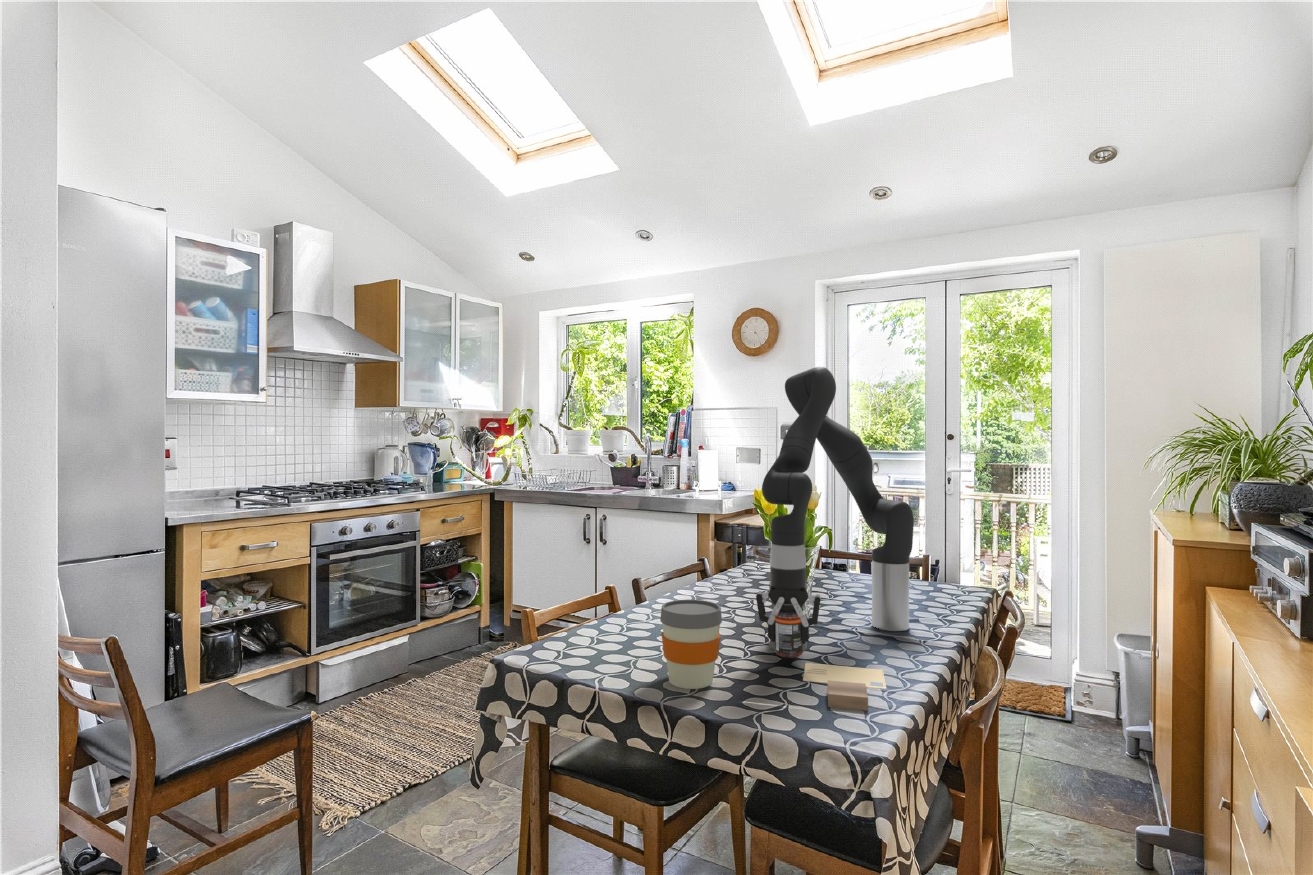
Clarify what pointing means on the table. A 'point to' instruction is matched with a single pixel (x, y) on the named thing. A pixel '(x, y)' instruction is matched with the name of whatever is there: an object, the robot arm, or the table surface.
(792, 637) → the supplement bottle
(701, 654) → the reusable coffee cup
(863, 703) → the block
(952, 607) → the table surface
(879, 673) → the letter
